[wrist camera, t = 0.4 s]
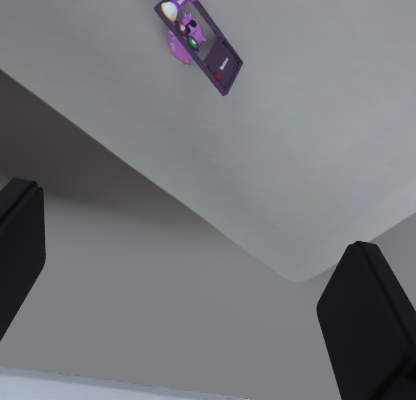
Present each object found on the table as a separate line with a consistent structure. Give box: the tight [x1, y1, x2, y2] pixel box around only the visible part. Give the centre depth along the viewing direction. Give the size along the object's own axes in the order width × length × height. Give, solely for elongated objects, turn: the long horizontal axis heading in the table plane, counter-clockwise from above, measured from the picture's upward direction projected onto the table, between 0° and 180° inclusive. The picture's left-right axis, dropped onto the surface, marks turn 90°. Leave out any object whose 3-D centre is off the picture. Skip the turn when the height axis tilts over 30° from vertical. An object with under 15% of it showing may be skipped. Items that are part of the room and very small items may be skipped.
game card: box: [154, 0, 243, 96], centre depth 34 cm, size 7×5×9 cm
